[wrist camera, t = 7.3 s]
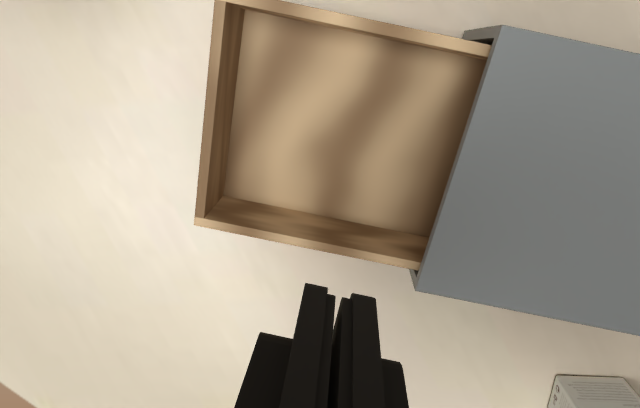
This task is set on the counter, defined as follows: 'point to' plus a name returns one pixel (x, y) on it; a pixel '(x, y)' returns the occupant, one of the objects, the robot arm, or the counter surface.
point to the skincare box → (592, 393)
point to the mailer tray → (331, 128)
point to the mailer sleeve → (545, 185)
